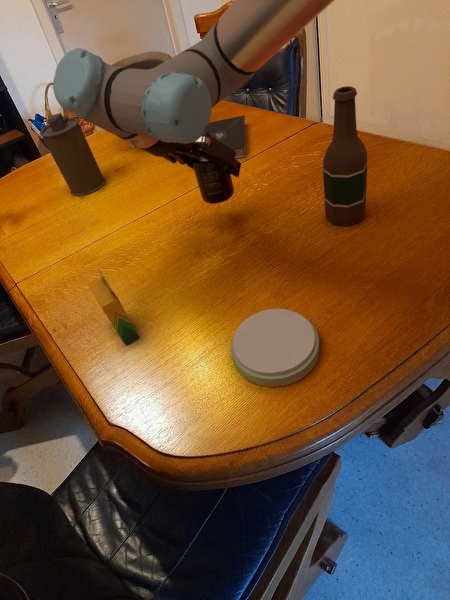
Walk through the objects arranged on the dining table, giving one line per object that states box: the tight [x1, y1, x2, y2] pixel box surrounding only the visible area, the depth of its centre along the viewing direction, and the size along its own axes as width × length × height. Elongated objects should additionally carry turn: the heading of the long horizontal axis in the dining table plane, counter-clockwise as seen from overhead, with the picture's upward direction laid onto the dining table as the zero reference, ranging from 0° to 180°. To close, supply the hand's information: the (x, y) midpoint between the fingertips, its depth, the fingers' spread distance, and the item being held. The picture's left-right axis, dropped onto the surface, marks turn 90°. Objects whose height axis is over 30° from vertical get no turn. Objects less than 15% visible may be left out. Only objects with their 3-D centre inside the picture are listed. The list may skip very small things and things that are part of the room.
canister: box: [39, 112, 106, 197], centre depth 110 cm, size 11×10×20 cm
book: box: [204, 115, 247, 160], centre depth 116 cm, size 22×15×3 cm
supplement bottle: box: [192, 134, 235, 205], centre depth 79 cm, size 7×7×12 cm
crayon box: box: [88, 268, 141, 347], centre depth 67 cm, size 7×3×12 cm, turn 32°
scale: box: [230, 308, 320, 388], centre depth 60 cm, size 13×13×3 cm
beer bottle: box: [322, 85, 368, 227], centre depth 73 cm, size 8×8×24 cm
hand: (222, 169), depth 83 cm, fingers closed on supplement bottle, 7 cm apart
